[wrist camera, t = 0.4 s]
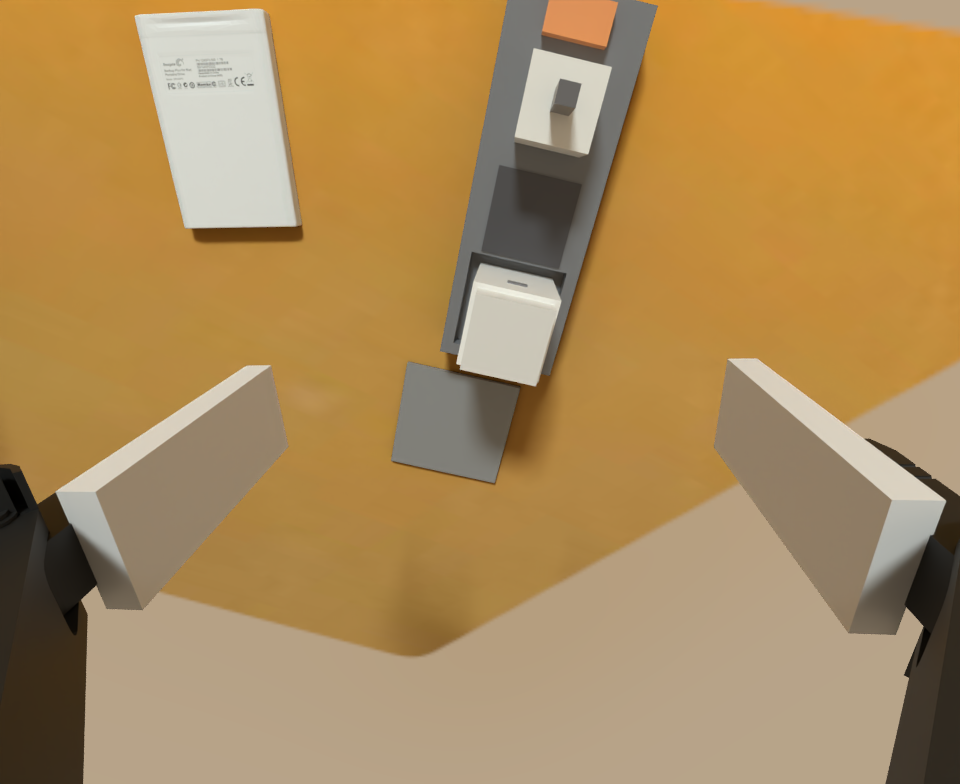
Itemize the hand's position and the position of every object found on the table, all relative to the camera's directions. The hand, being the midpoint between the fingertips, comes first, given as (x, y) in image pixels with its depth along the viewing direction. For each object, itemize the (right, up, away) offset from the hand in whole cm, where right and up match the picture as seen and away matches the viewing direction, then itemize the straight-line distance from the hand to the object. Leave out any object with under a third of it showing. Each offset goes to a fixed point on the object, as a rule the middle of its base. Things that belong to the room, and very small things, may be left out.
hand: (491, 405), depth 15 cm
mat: (-2, -2, +26) cm, 26 cm away
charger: (+2, +6, +20) cm, 21 cm away
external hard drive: (-17, +18, +19) cm, 32 cm away
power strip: (+4, +17, +18) cm, 25 cm away
